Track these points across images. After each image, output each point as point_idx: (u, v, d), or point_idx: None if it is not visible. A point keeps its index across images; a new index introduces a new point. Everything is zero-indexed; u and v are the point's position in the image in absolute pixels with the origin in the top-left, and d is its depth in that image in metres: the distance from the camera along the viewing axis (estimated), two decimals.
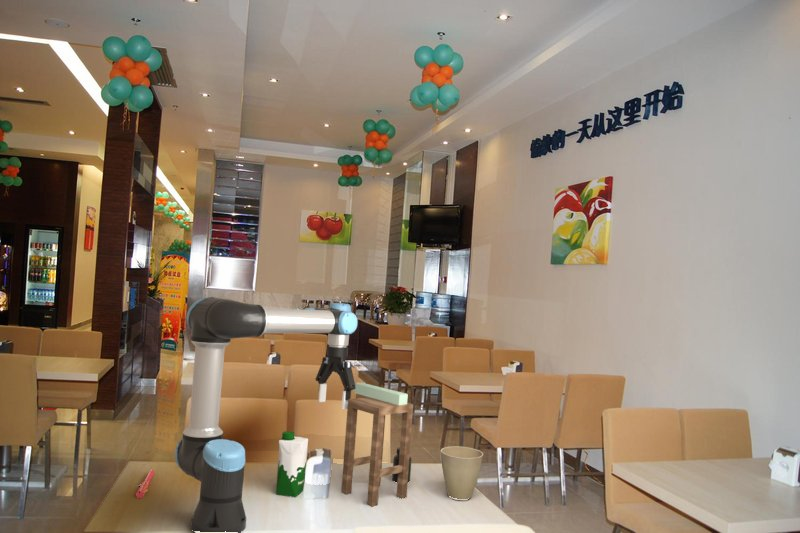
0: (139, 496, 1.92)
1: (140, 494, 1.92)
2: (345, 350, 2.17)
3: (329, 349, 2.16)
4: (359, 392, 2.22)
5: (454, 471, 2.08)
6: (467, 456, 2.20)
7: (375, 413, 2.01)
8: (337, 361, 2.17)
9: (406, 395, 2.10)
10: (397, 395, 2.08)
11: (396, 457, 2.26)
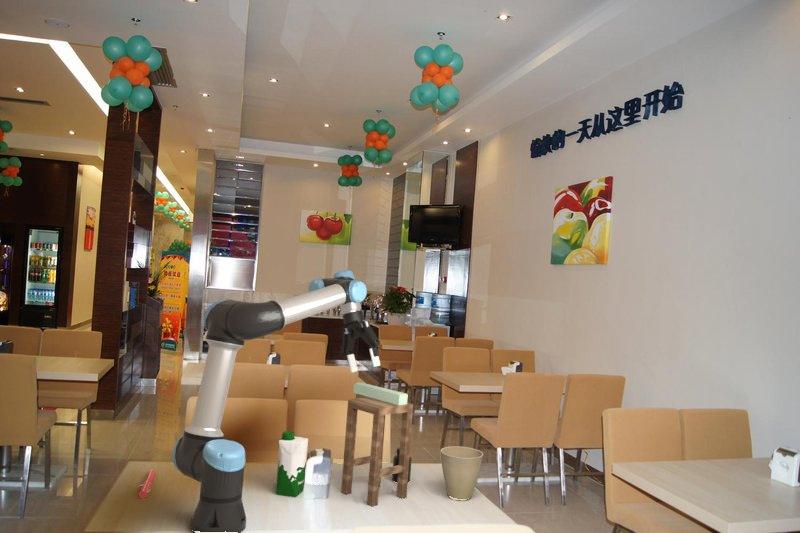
0: (142, 496, 1.92)
1: (143, 494, 1.92)
2: (360, 312, 2.21)
3: (344, 316, 2.21)
4: (359, 392, 2.22)
5: (454, 471, 2.08)
6: (467, 456, 2.20)
7: (375, 413, 2.01)
8: (355, 325, 2.21)
9: (406, 395, 2.10)
10: (397, 395, 2.08)
11: (396, 457, 2.26)
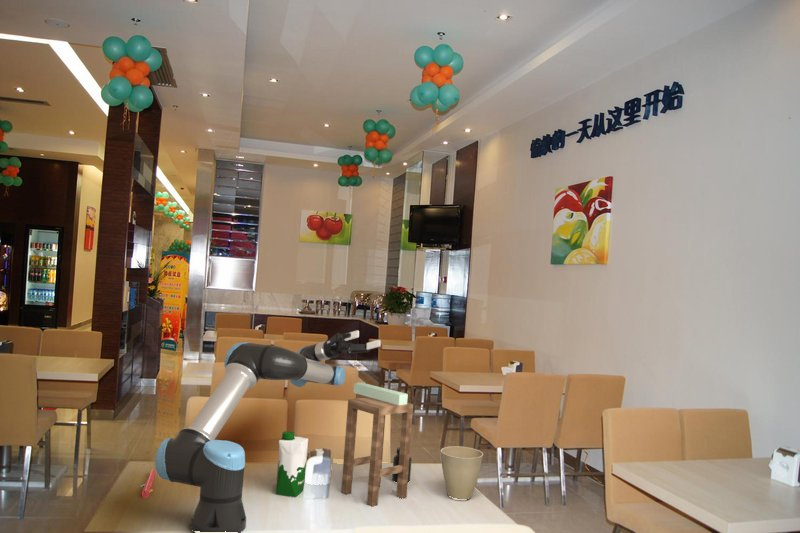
0: (145, 496, 1.92)
1: (146, 494, 1.92)
2: (324, 345, 2.46)
3: (330, 357, 2.47)
4: (359, 392, 2.22)
5: (454, 471, 2.08)
6: (467, 456, 2.20)
7: (375, 413, 2.01)
8: (335, 348, 2.45)
9: (406, 395, 2.10)
10: (397, 395, 2.08)
11: (396, 457, 2.26)
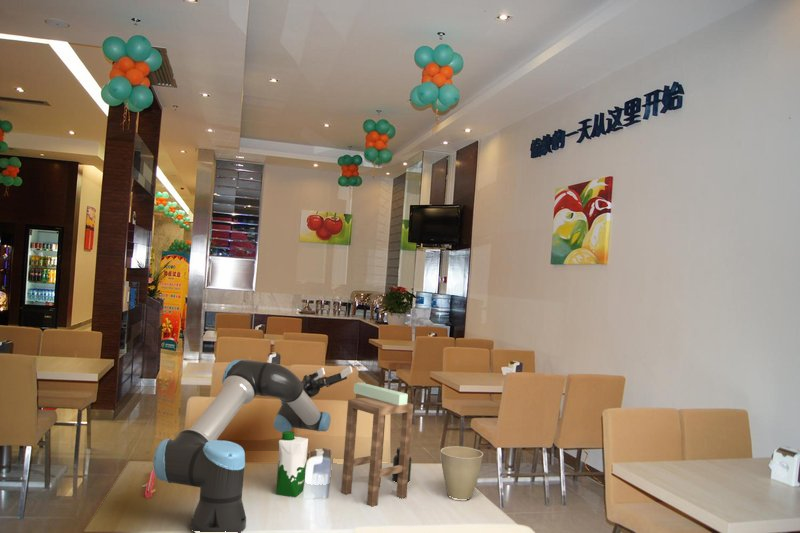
0: (148, 496, 1.92)
1: (149, 494, 1.92)
2: None
3: (311, 397, 2.46)
4: (359, 392, 2.22)
5: (454, 471, 2.08)
6: (467, 456, 2.20)
7: (375, 413, 2.01)
8: (311, 387, 2.43)
9: (406, 395, 2.10)
10: (397, 395, 2.08)
11: (396, 457, 2.26)
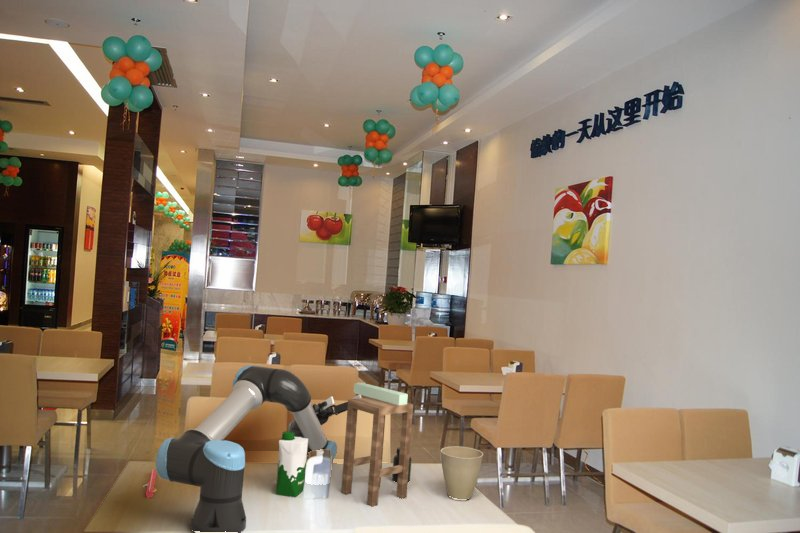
0: (149, 496, 1.92)
1: (150, 494, 1.92)
2: None
3: None
4: (359, 392, 2.22)
5: (454, 471, 2.08)
6: (467, 456, 2.20)
7: (375, 413, 2.01)
8: (320, 416, 2.38)
9: (406, 395, 2.10)
10: (397, 395, 2.08)
11: (396, 457, 2.26)
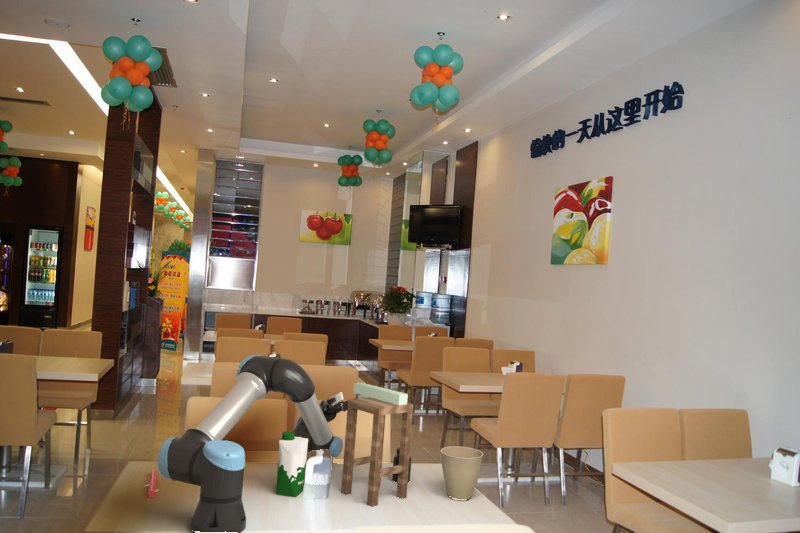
0: (151, 496, 1.93)
1: (152, 494, 1.93)
2: None
3: (327, 422, 2.37)
4: (359, 392, 2.22)
5: (454, 471, 2.08)
6: (467, 456, 2.20)
7: (375, 413, 2.01)
8: (328, 412, 2.34)
9: (406, 395, 2.10)
10: (397, 395, 2.08)
11: (396, 457, 2.26)
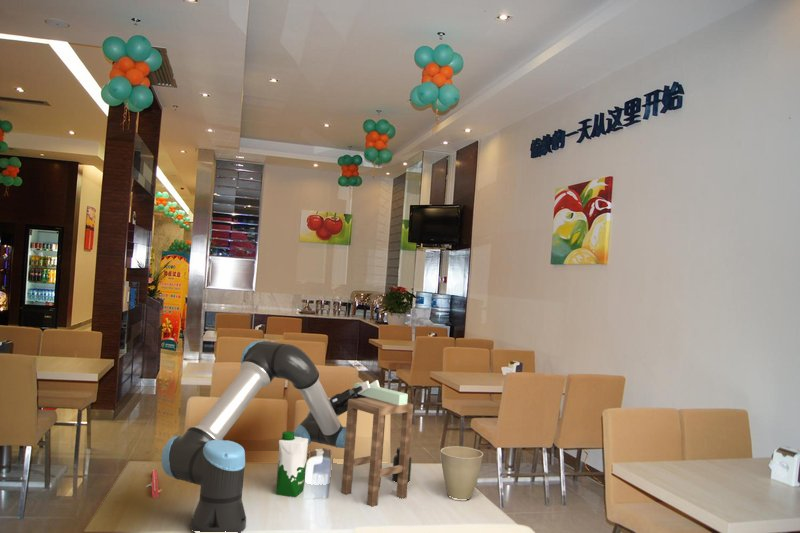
0: (155, 496, 1.93)
1: (156, 493, 1.93)
2: None
3: (340, 414, 2.32)
4: None
5: (454, 471, 2.08)
6: (467, 456, 2.20)
7: (375, 413, 2.01)
8: (341, 404, 2.29)
9: (406, 395, 2.10)
10: (397, 395, 2.08)
11: (396, 457, 2.26)
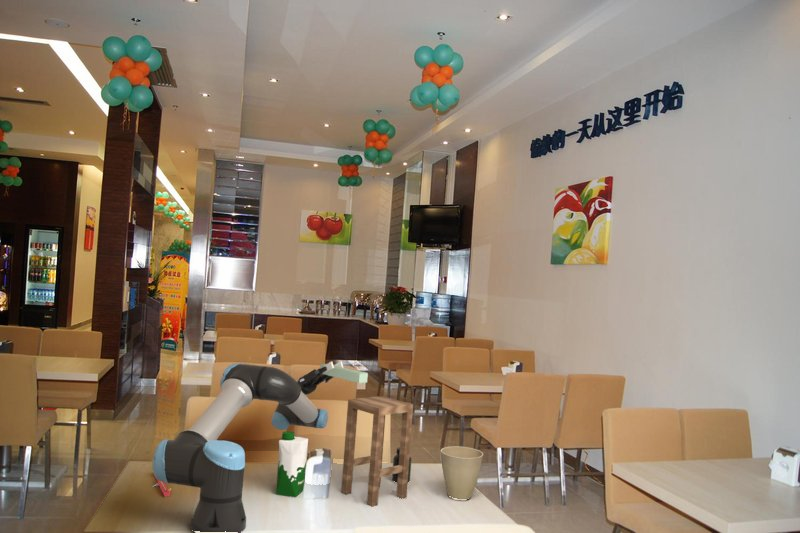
0: (166, 495, 1.94)
1: (167, 493, 1.95)
2: (298, 384, 2.47)
3: (307, 393, 2.48)
4: None
5: (454, 471, 2.08)
6: (467, 456, 2.20)
7: (375, 413, 2.01)
8: (308, 384, 2.45)
9: (366, 374, 2.25)
10: (357, 374, 2.24)
11: (396, 457, 2.26)
